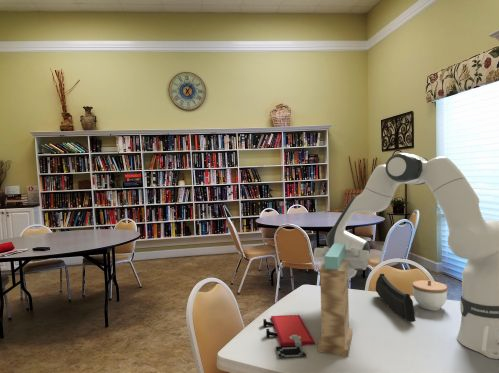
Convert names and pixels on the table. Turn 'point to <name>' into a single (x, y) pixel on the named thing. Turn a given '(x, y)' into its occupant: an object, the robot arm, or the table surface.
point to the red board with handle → (289, 335)
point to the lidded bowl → (429, 294)
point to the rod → (335, 256)
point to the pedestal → (335, 310)
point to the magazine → (395, 299)
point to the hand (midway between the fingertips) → (339, 249)
